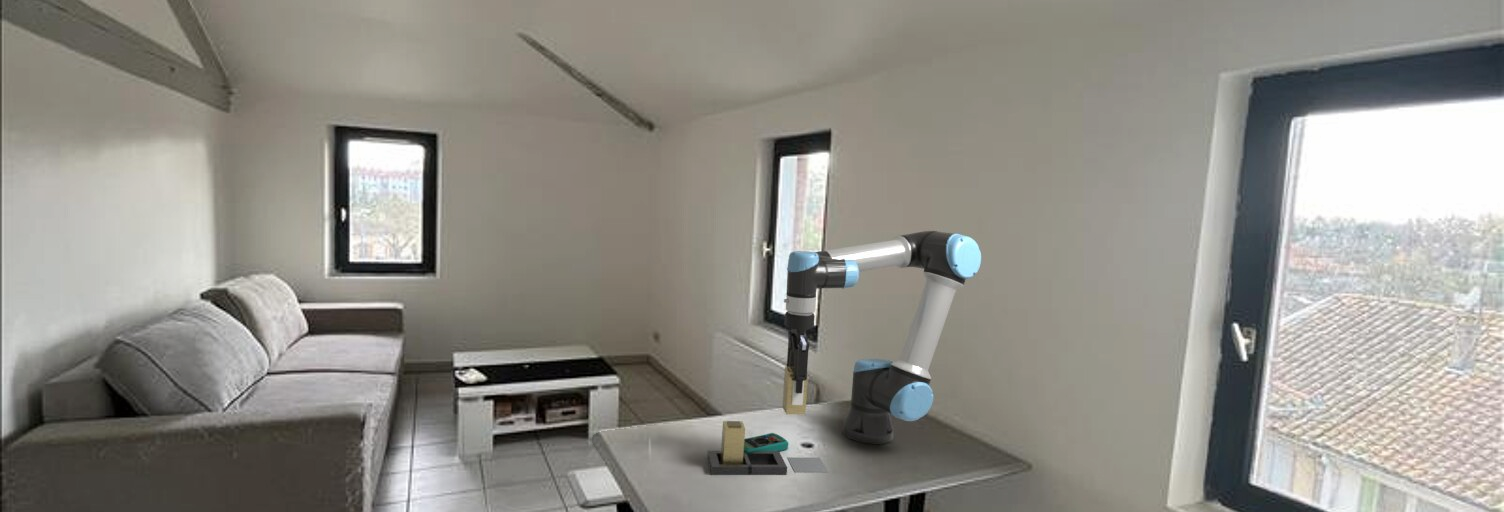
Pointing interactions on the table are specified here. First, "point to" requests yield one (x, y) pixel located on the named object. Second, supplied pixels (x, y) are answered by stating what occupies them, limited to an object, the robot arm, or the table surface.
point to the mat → (807, 465)
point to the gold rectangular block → (732, 443)
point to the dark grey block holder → (749, 464)
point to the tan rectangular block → (788, 393)
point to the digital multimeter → (765, 443)
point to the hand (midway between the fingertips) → (794, 400)
